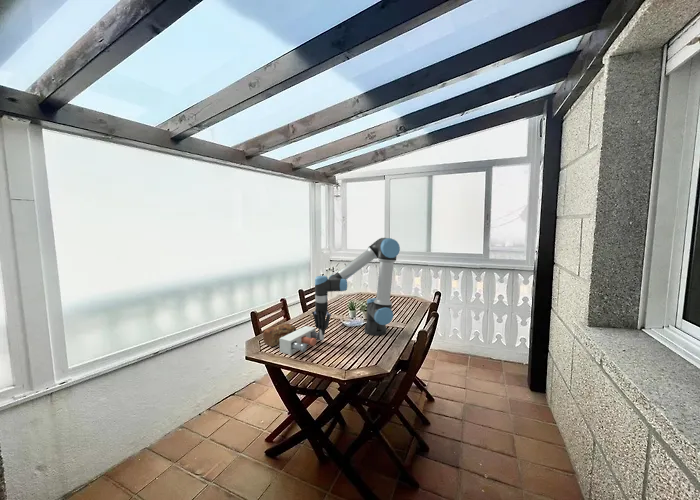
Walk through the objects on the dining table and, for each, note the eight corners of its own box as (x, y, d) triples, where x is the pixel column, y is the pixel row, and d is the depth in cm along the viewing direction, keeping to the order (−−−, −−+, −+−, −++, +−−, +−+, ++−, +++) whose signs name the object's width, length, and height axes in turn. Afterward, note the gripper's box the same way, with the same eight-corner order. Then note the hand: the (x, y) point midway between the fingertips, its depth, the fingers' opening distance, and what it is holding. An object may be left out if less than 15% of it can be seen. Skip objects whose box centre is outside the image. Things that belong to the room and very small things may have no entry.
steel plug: (307, 350, 162) (307, 342, 162) (301, 353, 158) (301, 345, 158) (291, 346, 168) (291, 338, 168) (286, 349, 164) (286, 341, 164)
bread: (272, 348, 172) (271, 331, 171) (262, 343, 179) (262, 327, 178) (297, 339, 185) (297, 323, 185) (287, 334, 193) (287, 320, 192)
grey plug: (321, 338, 179) (321, 331, 179) (317, 341, 175) (317, 333, 175) (307, 335, 185) (307, 328, 185) (302, 337, 181) (302, 330, 181)
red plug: (316, 344, 170) (316, 337, 170) (311, 347, 166) (311, 339, 166) (301, 341, 176) (301, 333, 175) (296, 343, 172) (296, 336, 171)
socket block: (315, 340, 183) (315, 327, 182) (290, 354, 162) (290, 341, 161) (305, 337, 187) (305, 325, 186) (279, 351, 166) (279, 338, 165)
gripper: (333, 301, 175) (334, 339, 176) (316, 298, 181) (316, 335, 183) (326, 304, 168) (327, 343, 170) (309, 301, 174) (309, 339, 176)
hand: (321, 339), depth 176 cm, fingers closed
